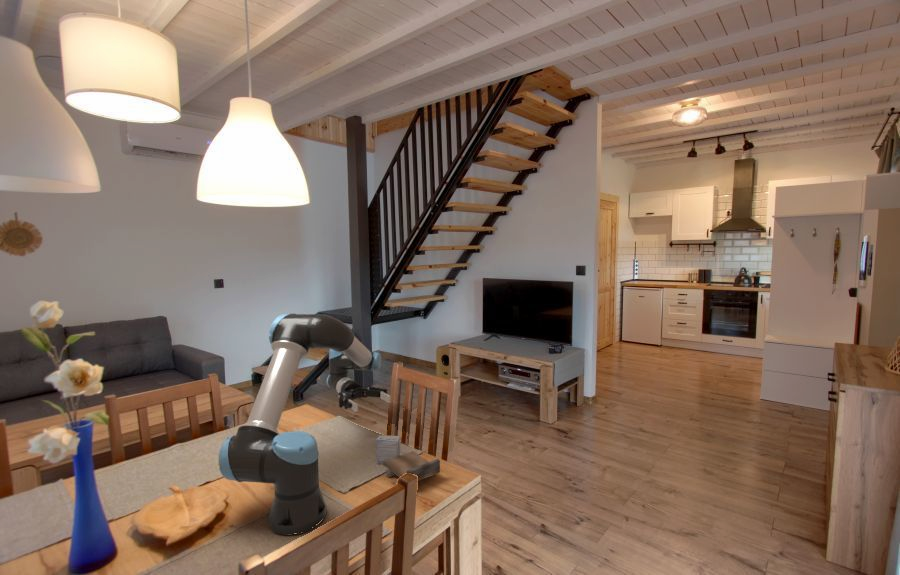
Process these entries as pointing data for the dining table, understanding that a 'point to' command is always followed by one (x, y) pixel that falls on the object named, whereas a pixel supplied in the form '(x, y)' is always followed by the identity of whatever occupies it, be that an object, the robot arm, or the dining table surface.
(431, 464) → the roller slab
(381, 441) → the medicine box
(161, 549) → the dining table surface
